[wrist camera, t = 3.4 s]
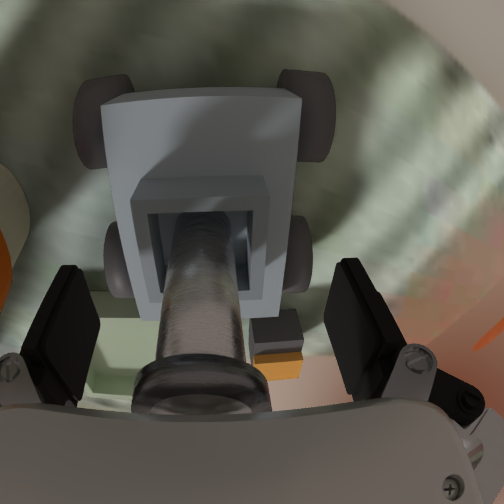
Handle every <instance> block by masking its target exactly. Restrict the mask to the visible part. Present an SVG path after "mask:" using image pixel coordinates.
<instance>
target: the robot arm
mask: <svg viewBox="0 0 504 504" xmlns="http://www.w3.org/2000/svg"><path fill="white" fill-rule="evenodd" d="M324 323H325V326H326V329H327V332H328V335H329V338H330V341H331V344H332V347H333V350H334V354H335V357H336V360H337V362H338V366H339V369H340V372H341V375H342V378H343V382H344V384H345V388H346V391H347V393H348V394H349V395H350V394H352V397H353V400H354V402H348V403H341V404H334V405H327V406H319V407H311V408H302V409H293V410H284V411H273V412H259V413H243V414H218V415H168V414H143V413H127V412H115V411H104V410H95V409H85V408H77V403H78V401H80V400H81V399H82V396H83V392H84V387H85V383H86V379H87V375H88V371H89V367H90V363H91V359H92V356H93V352H94V348H95V345H96V341H97V338H98V334H99V331H100V325H101V324H100V318H99V316H98V313H97V311H96V308H95V306H94V303H93V300H92V297H91V295H90V292H89V289H88V286H87V283H86V281H85V278H84V275H83V272H82V270H81V269H78V267H77V266H76V265H62V266H61V267H60V269H59V271H58V272H57V274H56V276H55V278H54V280H53V282H52V284H51V286H50V287H49V289H48V291H47V293H46V295H45V297H44V299H43V301H42V303H41V305H40V307H39V310H38V312H37V314H36V316H35V318H34V320H33V322H32V324H31V327H30V329H29V331H28V333H27V336H26V338H25V340H24V343H23V345H22V347H21V351H20V354H18V353H14V352H13V353H7V354H5V355H3V356H2V357H0V504H492V503H493V501H494V500H495V498H496V497H497V495H498V493H499V492H500V490H501V488H502V487H503V485H504V419H503V418H502V417H501V416H499V415H498V414H497V413H496V412H495V411H494V410H493V409H492V408H491V407H489V408H488V409H486V408H485V401H484V397H483V395H482V394H481V392H480V391H479V390H478V389H477V388H475V387H474V386H472V385H470V384H468V383H466V382H464V381H462V380H460V379H458V378H456V377H454V376H452V375H450V374H448V373H446V372H444V371H442V370H440V369H438V368H437V360H436V357H435V355H434V354H433V352H432V351H431V350H430V349H428V348H427V347H425V346H423V345H420V344H409V345H407V343H406V341H405V339H404V337H403V335H402V333H401V331H400V329H399V327H398V325H397V324H396V322H395V320H394V318H393V316H392V314H391V312H390V310H389V308H388V307H387V305H386V303H385V301H384V299H383V297H382V295H381V294H380V293H379V292H377V291H376V289H375V287H374V285H373V284H372V282H371V280H370V278H369V276H368V275H367V273H366V271H365V269H364V267H363V266H362V264H361V262H360V260H359V259H358V258H343V259H342V260H341V262H338V263H337V264H336V267H335V272H334V276H333V280H332V284H331V288H330V292H329V296H328V300H327V304H326V308H325V312H324Z"/></svg>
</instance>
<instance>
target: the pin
mask: <svg viewBox="0 0 504 504" xmlns="http://www.w3.org/2000/svg"><path fill="white" fill-rule="evenodd" d="M131 411H132V413H143V414H168V415H218V414H243V413H259V412H272V407H271V401H270V394H269V388H268V383H267V379H266V378H265V376H264V375H263V374H262V372H261V371H259V370H258V369H257V368H256V367H254V366H252V365H250V364H248V363H246V357H245V348H244V339H243V331H242V322H241V313H240V304H239V295H238V285H237V276H236V266H235V257H234V247H233V237H232V227H231V222H230V220H229V218H228V216H227V215H226V214H225V213H224V212H223V211H209V212H182V213H181V214H180V215H179V216H178V218H177V220H176V223H175V228H174V233H173V239H172V244H171V250H170V256H169V262H168V268H167V274H166V281H165V287H164V294H163V301H162V308H161V316H160V323H159V331H158V340H157V348H156V357H155V361H153V362H151V363H149V364H147V365H146V366H144V367H143V368H142V369H141V370H140V371H139V372H138V373H137V375H136V377H135V381H134V388H133V396H132V405H131Z"/></svg>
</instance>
